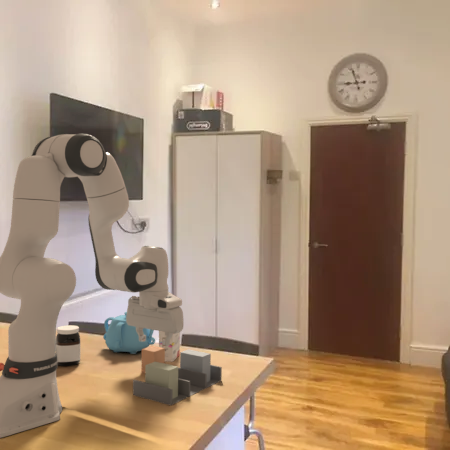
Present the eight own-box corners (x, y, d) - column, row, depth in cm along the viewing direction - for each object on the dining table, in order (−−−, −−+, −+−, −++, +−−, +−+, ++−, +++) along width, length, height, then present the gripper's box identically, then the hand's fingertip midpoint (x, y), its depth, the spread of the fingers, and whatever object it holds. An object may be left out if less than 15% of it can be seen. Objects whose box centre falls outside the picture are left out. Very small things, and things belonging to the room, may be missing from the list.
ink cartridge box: (166, 356, 185) (166, 313, 184) (180, 357, 184) (180, 314, 183) (157, 363, 176) (158, 319, 176) (172, 365, 175) (172, 320, 175)
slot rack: (170, 409, 138) (171, 389, 138) (133, 398, 145) (133, 380, 145) (221, 383, 158) (221, 367, 157) (185, 375, 165) (186, 359, 164)
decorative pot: (146, 342, 203) (146, 306, 203) (157, 353, 188) (157, 314, 188) (102, 346, 197) (102, 309, 196) (110, 358, 182) (110, 318, 182)
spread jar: (82, 366, 173) (82, 330, 172) (44, 370, 169) (44, 333, 168) (77, 356, 184) (77, 322, 184) (42, 359, 180) (42, 324, 179)
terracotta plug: (154, 378, 162) (154, 351, 162) (141, 375, 165) (141, 349, 165) (164, 373, 166) (164, 348, 166) (152, 370, 169) (152, 345, 169)
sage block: (168, 400, 141) (168, 370, 141) (145, 394, 145) (145, 365, 145) (178, 396, 144) (178, 366, 144) (155, 390, 149) (155, 361, 148)
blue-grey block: (202, 384, 154) (202, 356, 153) (180, 379, 158) (180, 352, 158) (210, 380, 157) (210, 353, 157) (188, 375, 161) (188, 349, 161)
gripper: (121, 296, 168) (121, 340, 168) (173, 304, 157) (173, 351, 157) (135, 293, 173) (135, 336, 174) (186, 300, 162) (186, 346, 163)
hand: (154, 343), depth 165 cm, fingers open, 8 cm apart
